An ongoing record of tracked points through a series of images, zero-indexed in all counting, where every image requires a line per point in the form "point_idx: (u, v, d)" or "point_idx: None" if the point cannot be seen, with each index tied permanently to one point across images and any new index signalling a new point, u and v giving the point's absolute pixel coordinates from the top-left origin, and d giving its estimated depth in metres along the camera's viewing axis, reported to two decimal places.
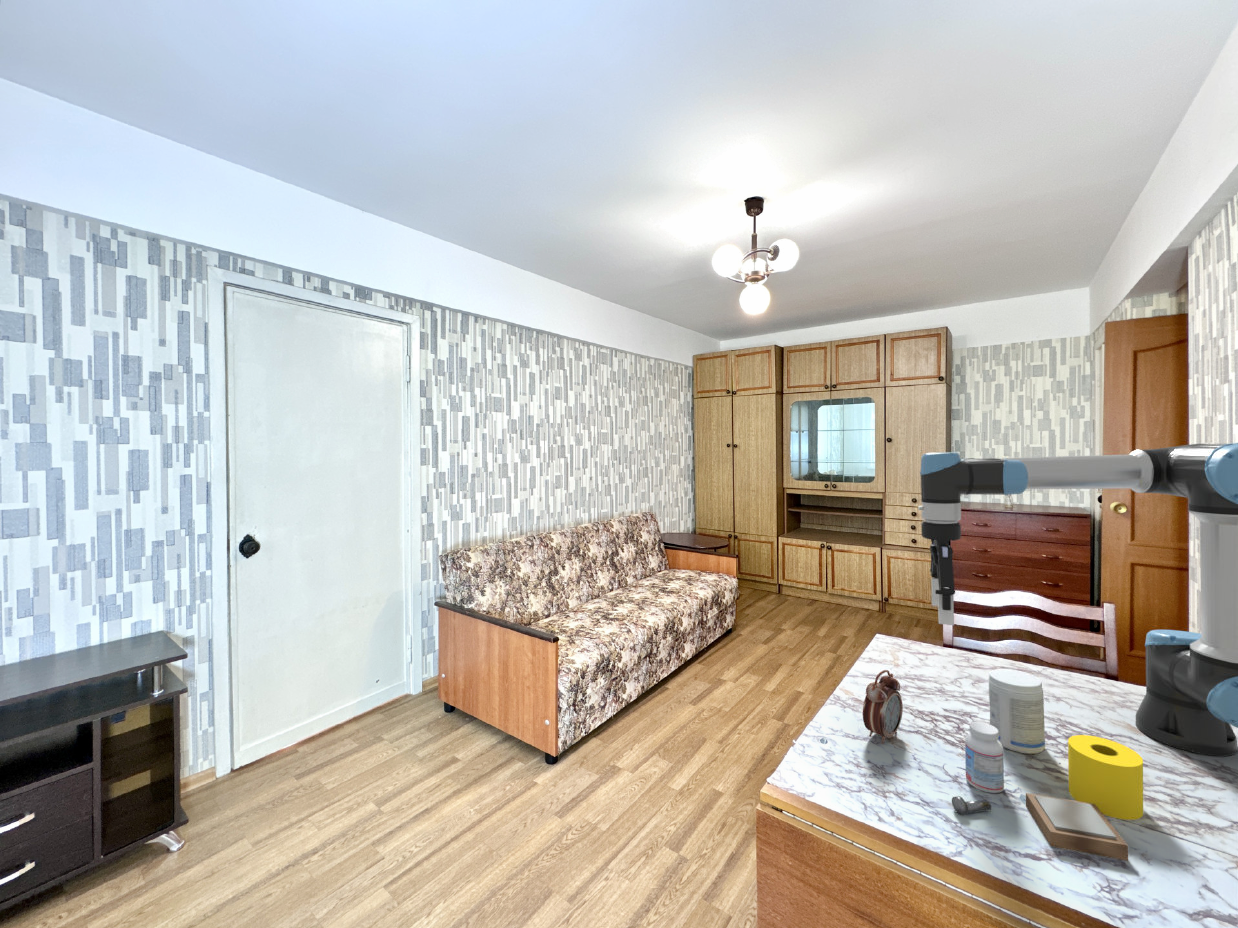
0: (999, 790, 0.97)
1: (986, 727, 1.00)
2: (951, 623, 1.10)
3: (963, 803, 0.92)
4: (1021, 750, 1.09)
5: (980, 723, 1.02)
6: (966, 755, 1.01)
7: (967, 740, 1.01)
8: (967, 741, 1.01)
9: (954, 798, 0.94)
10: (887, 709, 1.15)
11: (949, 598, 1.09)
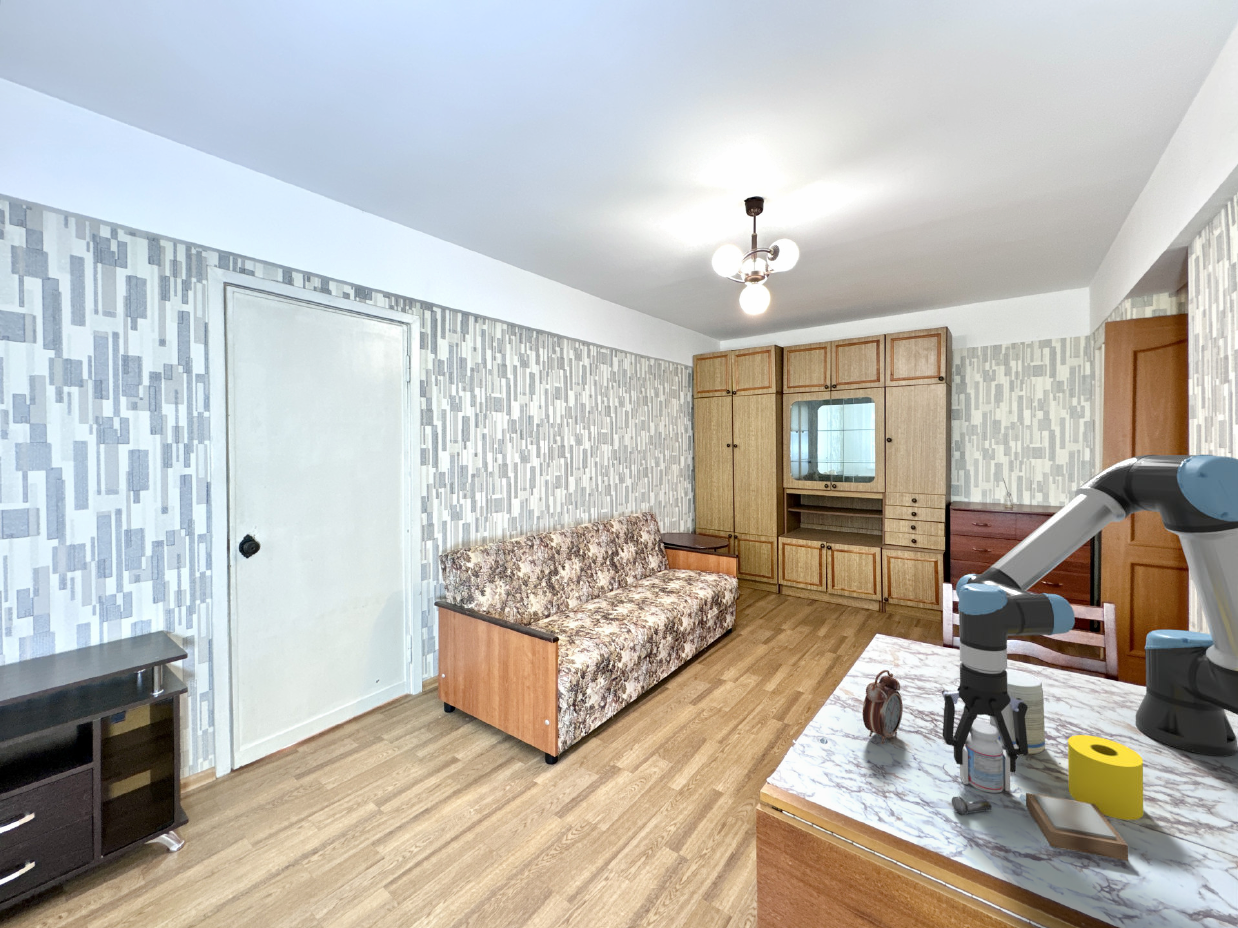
0: (999, 790, 0.97)
1: (986, 727, 1.00)
2: (963, 780, 1.01)
3: (963, 803, 0.92)
4: None
5: (980, 723, 1.02)
6: None
7: (967, 740, 1.01)
8: (967, 741, 1.01)
9: (954, 798, 0.94)
10: (887, 709, 1.15)
11: (955, 750, 1.01)
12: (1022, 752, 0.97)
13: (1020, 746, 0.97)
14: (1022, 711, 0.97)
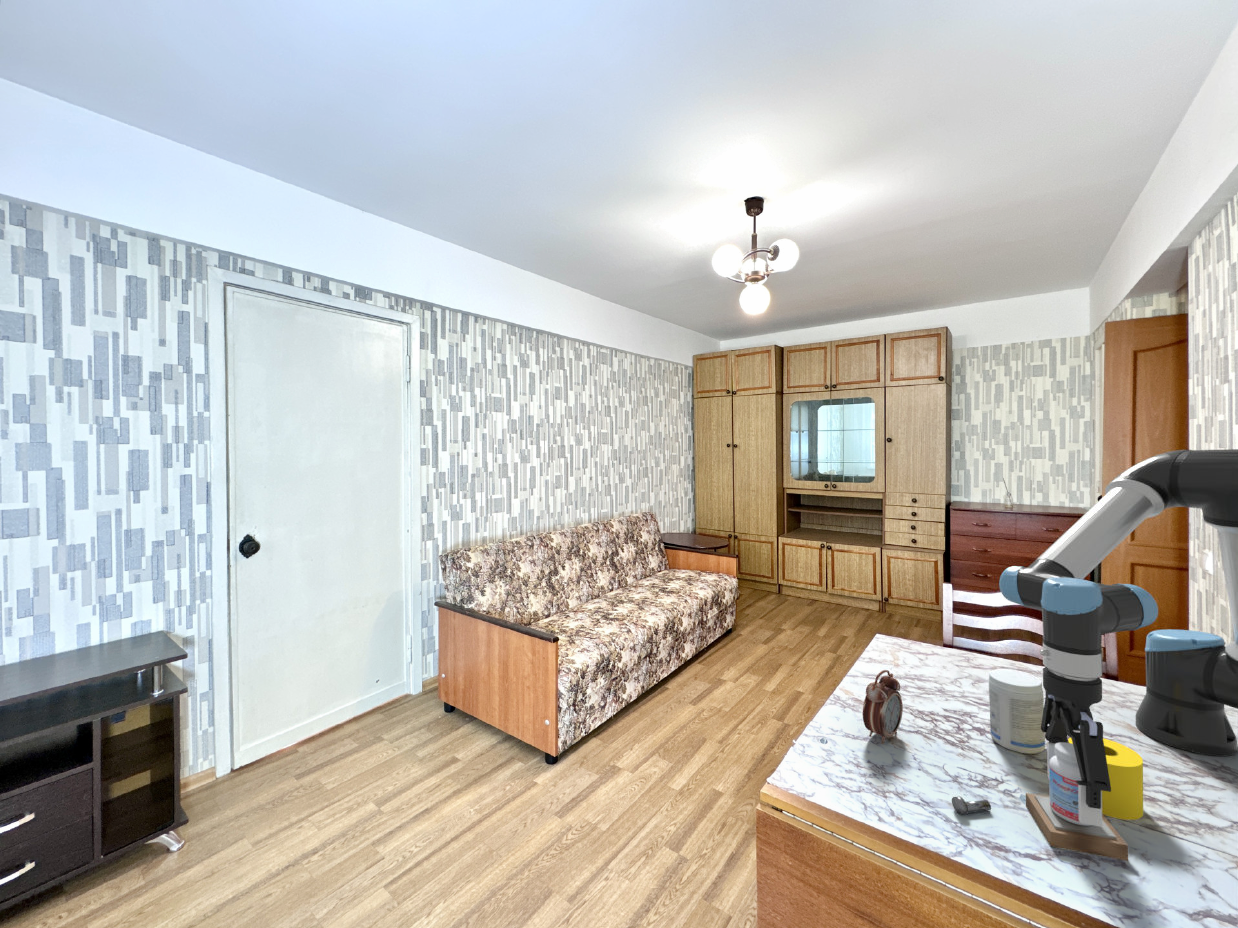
0: None
1: (1070, 748, 0.88)
2: (1099, 824, 0.81)
3: (963, 803, 0.92)
4: (1021, 750, 1.09)
5: (1061, 748, 0.88)
6: None
7: None
8: None
9: (954, 798, 0.93)
10: (887, 709, 1.15)
11: (1099, 793, 0.80)
12: None
13: None
14: None
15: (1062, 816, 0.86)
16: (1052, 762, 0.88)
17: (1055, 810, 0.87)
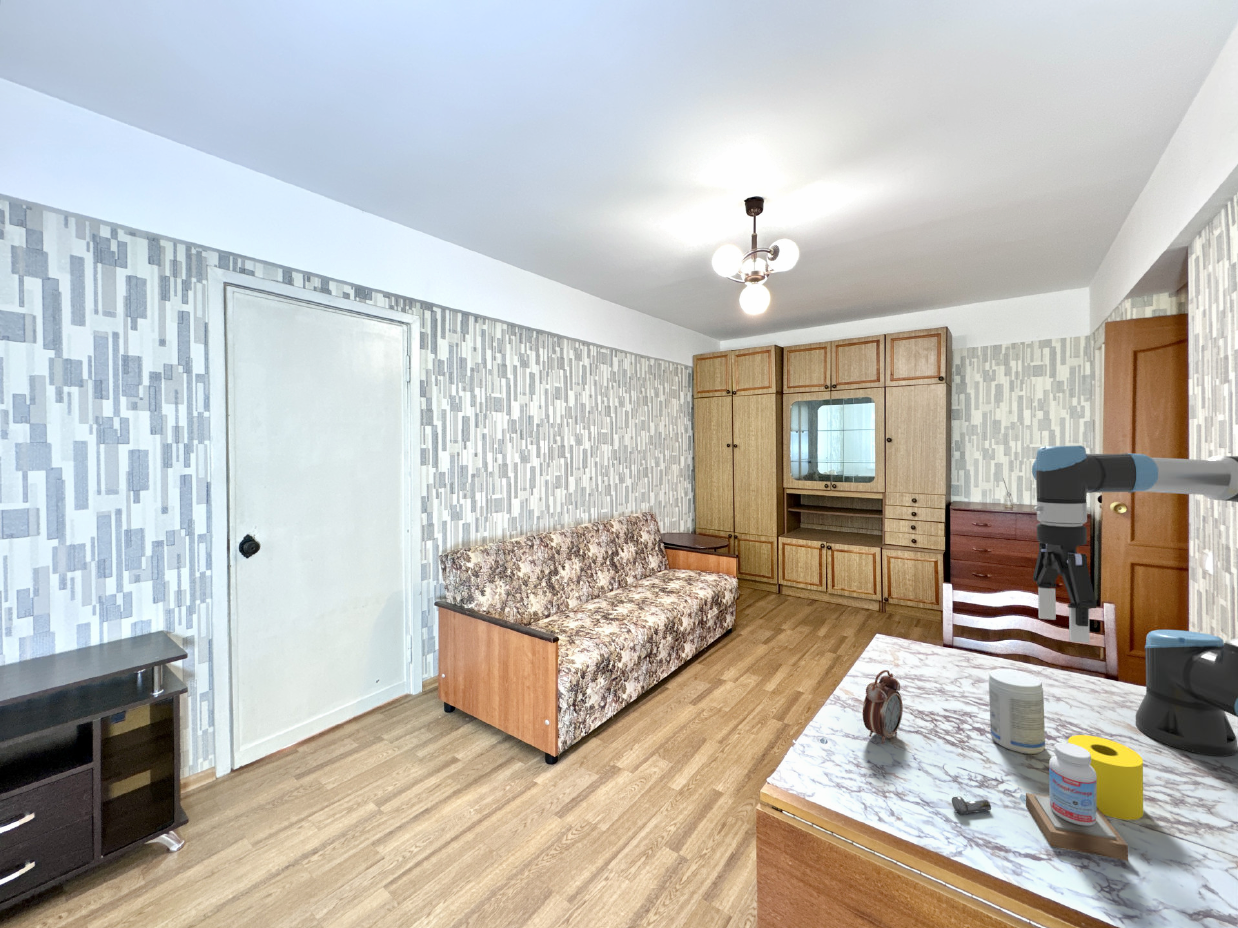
0: None
1: (1070, 747, 0.88)
2: (1086, 641, 0.96)
3: (963, 803, 0.92)
4: (1021, 750, 1.09)
5: (1061, 748, 0.88)
6: (1082, 795, 0.85)
7: (1083, 776, 0.85)
8: (1084, 777, 0.84)
9: (954, 798, 0.93)
10: (887, 709, 1.15)
11: (1086, 612, 0.95)
12: None
13: None
14: None
15: (1062, 816, 0.86)
16: (1052, 762, 0.88)
17: (1055, 810, 0.87)
